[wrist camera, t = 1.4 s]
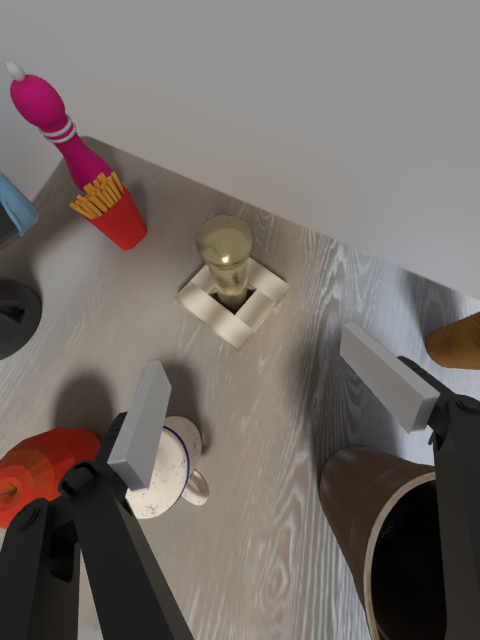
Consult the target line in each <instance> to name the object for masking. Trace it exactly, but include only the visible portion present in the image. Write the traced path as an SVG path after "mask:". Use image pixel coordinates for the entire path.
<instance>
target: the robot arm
mask: <svg viewBox="0 0 480 640" xmlns="http://www.w3.org/2000/svg"><path fill="white" fill-rule="evenodd" d="M38 219H39V212H38V210H37V208H36V207H35V206H34V205H33V204H32V203H31V202H30V201H29V200H28V199H27V198H26V197H25V196H24V195H23V194H22V193H21V192H20V190H18V188H16V186H15V185H14V184H13V183H12V182H11V181H10V180H9V179H8V178H7V177H6V176H5V175H4V174H3V173H2V172H1V171H0V250H1V249H3V248H4V247H6V246H8V245H9V244H11V243H12V242H14V241H15V240H17V239H18V238H20V237H22V236H24V233H25V232H26V231H27V230H29V229H30V228H31V227H32V226H33V225H35V224H36V223H37V222H38ZM40 315H41V304H40V300H39V298H38V296H37V294H36V293H35V291H34V290H33V289H32V288H30V287H29V286H27V285H25V284H23V283H20V282H18V281H16V280H13V279H10V278H6V277H0V360H2V359H4V358H6V357H8V356H10V355H12V354H14V353H15V352H17V351H18V350H19V349H20V348H22V347H23V346H24V345H25V344H26V343H27V342H28V340H29V339H30V338H31V336H32V335H33V333H34V332H35V330H36V328H37V326H38V323H39V320H40ZM340 355H341V356H342V357H343V359H344V360H345V361H346V362H347V363H348V364H349V365H350V367H351V368H352V369H353V370H354V371H355V372H356V374H357V375H358V376H359V377H360V378H361V379H362V381H363V382H364V383H365V384H366V385H367V386H368V388H369V389H370V390H371V391H372V392H373V393H374V395H375V396H376V397H377V398H378V399H379V400H380V402H381V403H382V404H383V405H384V406H385V407H386V409H387V410H388V411H389V412H390V413H391V414H392V415H393V417H394V418H395V419H396V420H397V421H398V422H399V424H400V425H401V426H402V427H403V428H404V429H405V431H406V432H407V433H408V434H409V435H412V434H417V433H421V432H424V431H425V428H426V426H427V424H428V425H429V426H430V427H431V428H432V429H433V430H434V431H433V433H432V435H431V437H430V439H429V442H428V445H431V444H432V442H433V452H434V464H435V476H436V488H437V500H438V512H439V524H440V536H441V549H442V561H443V573H444V585H445V597H446V609H447V630H446V635H445V640H480V401H478V400H476V399H474V398H472V397H469V396H466V395H460V394H455V393H454V392H452V391H451V390H450V389H449V388H447V387H446V386H445V385H443V384H442V383H441V382H439V381H438V380H437V379H436V378H434V377H433V376H432V375H430V374H428V372H427V371H425V370H424V369H423V368H421V367H420V366H419V365H417V364H416V363H415V362H414V361H412V360H410V359H408V358H406V357H403V356H399V357H395V356H394V355H393V354H392V353H391V352H389V351H388V350H387V349H386V348H384V347H383V346H382V345H381V344H380V343H378V342H377V341H376V340H375V339H373V338H372V337H371V336H370V335H369V334H367V333H366V332H365V331H364V330H363V329H361V328H360V327H359V326H358V325H356V324H355V323H354V322H348V323H343V324H342V335H341V346H340ZM171 389H172V387H171V385H170V382H169V380H168V378H167V376H166V373H165V371H164V369H163V366H162V364H161V362H160V360H155V361H150V362H148V364H147V367H146V369H145V372H144V374H143V377H142V379H141V381H140V384H139V386H138V389H137V391H136V393H135V396H134V398H133V401H132V403H131V406H130V408H129V410H128V412H123V413H120V414H119V415H118V416H117V417H116V418H115V420H114V421H113V422H112V424H111V426H110V428H109V431H108V433H107V435H106V437H105V441H103V444H102V446H101V448H100V450H99V452H98V454H97V456H96V459H95V461H94V462H93V461H92V460H90V459H85V460H82V461H79V462H78V463H76V464H74V465H73V466H72V467H71V468H70V469H69V470H67V471H66V473H65V474H64V475H63V477H62V478H61V480H60V482H59V484H58V492H59V493H61V494H62V495H61V496H59V497H57V498H55V499H53V500H51V501H48V500H47V499H46V498H44V497H43V498H37V499H35V500H33V501H31V502H29V503H28V504H27V505H25V506H24V507H23V508H22V509H21V510H20V511H19V512H18V513H17V514H16V515H15V517H14V518H13V519H12V521H11V522H10V524H9V526H8V528H7V531H6V534H5V538H4V541H3V545H2V548H1V552H0V640H77V636H78V608H79V579H80V551H81V550H82V554H83V559H84V563H85V567H86V571H87V575H88V579H89V583H90V587H91V591H92V595H93V599H94V603H95V607H96V611H97V615H98V619H99V623H100V627H101V631H102V635H103V639H104V640H194V638H193V636H192V634H191V632H190V630H189V628H188V626H187V624H186V621H185V619H184V617H183V615H182V613H181V611H180V609H179V607H178V605H177V603H176V600H175V598H174V596H173V594H172V592H171V590H170V588H169V586H168V584H167V582H166V579H165V577H164V575H163V573H162V571H161V569H160V567H159V565H158V563H157V561H156V558H155V556H154V554H153V552H152V550H151V548H150V546H149V544H148V542H147V540H146V537H145V535H144V533H143V531H142V529H141V527H140V525H139V523H138V521H137V519H136V517H135V514H134V512H133V510H132V508H131V506H130V504H129V502H128V500H127V499H126V493H127V490H128V488H129V489H130V490H131V492H132V493H137V492H142V491H147V490H149V486H150V482H151V478H152V473H153V469H154V464H155V460H156V455H157V451H158V447H159V442H160V438H161V433H162V429H163V424H164V420H165V416H166V411H167V407H168V402H169V398H170V393H171Z"/></svg>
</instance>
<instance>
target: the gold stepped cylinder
mask: <svg viewBox="0 0 480 640" xmlns="http://www.w3.org/2000/svg"><path fill="white" fill-rule="evenodd" d="M196 244H197V248H198V250H199V253H200V256H201V258H202V260H203V261H204V262H205V263H206V264H207V265H208V266H209V269H210V272H211V275H212V278H213V281H214V284H215V287H216V290H217V294H218V297H219V300H220V302H221V304H222V306H223V307H225V308H226V309H228V310H238V309H240V308H241V307H242V306H243V305H244V304H245V303H246V301H247V260H248V258H249V257H250V255H251V251H252V232H251V230H250V228H249V226H248V225H247V224H246V223H245V222H244V221H243V220H241V219H240V218H237V217H234V216H230V215H221V216H216V217H213V218H211V219H209V220H208V221H206V222H205V223H204V224H203V225H202V226H201V227H200V229H199V231H198V233H197V237H196Z"/></svg>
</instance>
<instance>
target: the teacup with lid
mask: <svg viewBox="0 0 480 640" xmlns="http://www.w3.org/2000/svg"><path fill="white" fill-rule="evenodd" d="M201 449H202V443H201V437H200V434H199V431H198V429H197V428H196V426H195V425H194V424H193V423H192V422H191V421H189V420H188V419H186V418H184V417H180V416H170V417H166V418H165V420H164V424H163V429H162V433H161V438H160V442H159V447H158V451H157V455H156V460H155V464H154V469H153V473H152V478H151V482H150V486H149V490H147V491H142V492H137V493H132V492H131V490H130V489H129V488H128V490H127V493H126V499H127V500H128V502H129V504H130V506H131V508H132V510H133V512H134V514H135V517H136V518H141V519H146V518H152V517H155V516H158V515H160V514H162V513H164V512H165V511H167V510H168V509H170V508H171V507H172V506H173V505H174V504H175V503H176V502H177V500H178V499H179V498H180V496H181V495H182V496H183V497H184V498H185V499H187V500H188V501H189V502H191V503H193V504H195V505H203V504H204V503H205V502H206V500H207V498H208V496H209V486H208V484H207V481H206V480H205V478H204V477H203V476H202V474H201V473H200V472H198V471H197V470H196V469H195V467H196V465H197V463H198V461H199V458H200V455H201ZM188 478H190V479H191V480H192V481H193V482H194V483H195V484H196V485H197V487H198V488H199V490H200V492H199V491H197V490H195V489H194V488H193V487H192V486H191V485H189V484H188V483H187V481H188Z"/></svg>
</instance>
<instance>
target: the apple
mask: <svg viewBox="0 0 480 640" xmlns="http://www.w3.org/2000/svg"><path fill="white" fill-rule="evenodd" d="M100 448H101V443H100V442H99V440H98V438H97V436H96V435H95V434H94V433H92V432H90V431H89V430H87V429H78V428H56V429H53V430H50V431H47V432H44V433H42V434H39V435H36V436H33V437H30V438H27V439H25V440H23V441H21V442H20V443H19V444H17V445H16V446H15V447H13V448H12V449H11V450H10V451H8V452H7V453H6V455H5V456H4V457H3V458H2V459H1V460H0V527H1V528H3V529H7V528H8V526H9V524H10V522H11V521H12V519H13V518H14V517H15V515H16V514H17V513H18V512H19V511H20V510H21V509H22V508H23V507H24V506H25V505H27V504H28V503H29V502H31V501H33V500H35V499H37V498H43V497H44V498H46V499H47V500H48V501H51V500H53V499H55V498H57V497H59V496H61V495H62V494H61V493H59V492H58V484H59V482H60V480H61V478H62V477H63V475H64V474H65V473H66V471H67V470H69V469H70V468H71V467H72V466H73V465H74V464H76V463H78V462H79V461H82V460H85V459H90V460H92V461H93V462H94V461H95V459H96V456H97V454H98V452H99V450H100Z"/></svg>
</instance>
